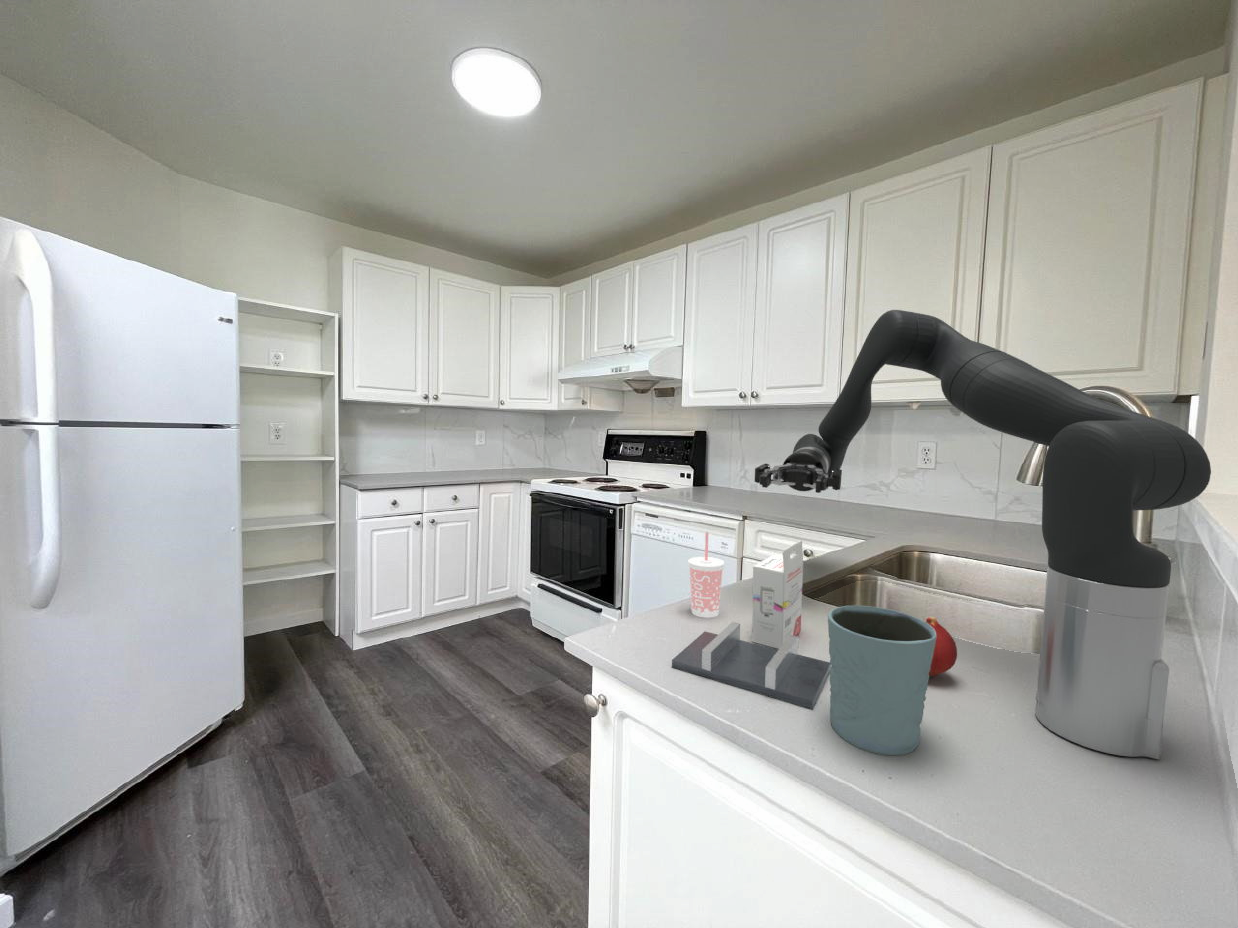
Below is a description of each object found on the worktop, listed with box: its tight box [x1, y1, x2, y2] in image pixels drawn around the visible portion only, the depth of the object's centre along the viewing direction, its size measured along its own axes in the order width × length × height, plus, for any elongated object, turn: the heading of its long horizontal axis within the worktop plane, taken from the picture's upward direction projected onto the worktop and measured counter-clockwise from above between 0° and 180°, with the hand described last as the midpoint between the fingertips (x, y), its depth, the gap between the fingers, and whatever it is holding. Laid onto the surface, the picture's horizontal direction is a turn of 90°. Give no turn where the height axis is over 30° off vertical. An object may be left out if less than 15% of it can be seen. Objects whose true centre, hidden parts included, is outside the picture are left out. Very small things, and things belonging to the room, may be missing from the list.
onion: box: [925, 616, 958, 678], centre depth 66 cm, size 6×6×8 cm
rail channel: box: [671, 621, 831, 710], centre depth 68 cm, size 18×11×4 cm, turn 57°
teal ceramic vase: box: [827, 605, 937, 756], centre depth 54 cm, size 10×10×12 cm
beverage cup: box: [687, 531, 725, 619], centre depth 87 cm, size 6×6×14 cm
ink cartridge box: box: [751, 540, 804, 650], centre depth 77 cm, size 9×5×15 cm, turn 143°
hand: (790, 484), depth 84 cm, fingers open, 8 cm apart
